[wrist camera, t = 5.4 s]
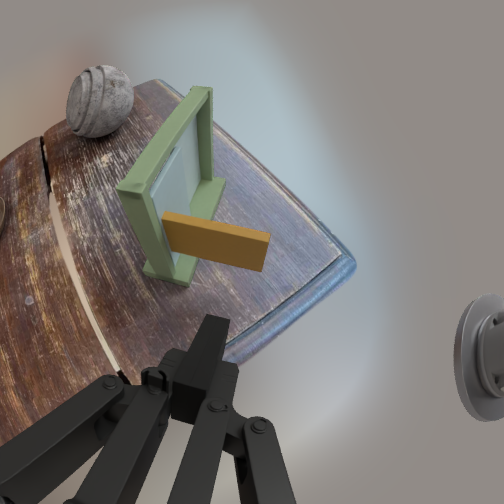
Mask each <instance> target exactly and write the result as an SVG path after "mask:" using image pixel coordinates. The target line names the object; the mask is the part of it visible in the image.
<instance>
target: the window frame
mask: <svg viewBox="0 0 504 504" xmlns="http://www.w3.org/2000/svg"><path fill="white" fill-rule="evenodd" d="M212 90H213V88H212V87H202V86H193V87H192V88H191V89H190V92H189V93H188V95H186V97H185V98H184V99H183V100H182V101H181V102H180V104H179V105H178V106H177V107H176V109H175V110H174V111H173V112H172V113H171V115H170V116H169V117H168V118H167V120H166V121H165V122H164V124H163V125H162V126H161V127H160V129H159V130H158V131H157V133H156V134H155V135H154V137H153V138H152V139H151V141H150V142H149V144H148V145H147V146H146V148H145V149H144V150H143V152H142V153H141V155H140V156H139V158H138V159H137V161H136V162H135V163H134V165H133V166H132V168H131V169H130V171H129V172H128V174H127V176H126V177H125V179H124V180H121V181H120V183H119V184H118V186H117V187H116V191H117V193H118V196H119V198H120V200H121V203H122V205H123V207H124V210H125V212H126V214H127V216H128V219H129V221H130V223H131V225H132V227H133V230H134V232H135V234H136V236H137V238H138V240H139V242H140V244H141V246H142V248H143V250H144V252H145V254H146V256H147V260H146V263H145V265H144V267H143V270H142V271H143V272H144V274H145V275H146V276H149V277H153V278H156V279H160V280H164V281H167V282H171V283H175V284H178V285H182V286H186V287H190V284H191V281H192V278H193V275H194V272H195V269H196V266H197V263H198V260H199V258H198V257H194V256H189V255H185V254H181V253H180V255H179V258H178V261H177V263H176V266H175V267H174V265H173V262H172V259H171V257H170V254H169V251H168V248H167V245H166V242H165V239H164V236H163V233H162V230H161V227H160V224H159V221H158V218H157V215H156V212H155V209H154V206H153V202H152V199H151V196H150V193H149V188H150V186H151V184H152V182H153V181H154V179H155V177H156V175H157V174H158V172H159V170H160V169H161V167H162V165H163V164H164V162H165V161H166V159H167V157H168V156H169V154H170V155H171V153H172V152H173V150H174V149H175V147H181V150H182V158H183V165H184V172H185V180H186V186H187V193H188V200H189V206H190V212H191V216H193V217H197V218H202V219H207V220H213V218H214V215H215V212H216V210H217V207H218V204H219V202H220V199H221V196H222V194H223V191H224V188H225V186H226V179H224V178H219V177H214V160H213V102H212V101H213V100H212V99H213V91H212Z"/></svg>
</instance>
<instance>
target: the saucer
mask: <svg viewBox="0 0 504 504" xmlns="http://www.w3.org/2000/svg"><path fill="white" fill-rule="evenodd" d="M4 221H5V203H4V200H3V199H2V198H1V197H0V235H1V233H2V230H3V226H4Z"/></svg>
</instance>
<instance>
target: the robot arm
mask: <svg viewBox="0 0 504 504" xmlns="http://www.w3.org/2000/svg"><path fill="white" fill-rule="evenodd" d="M229 324H230V319H226V318H222V317H218V316H214V315H210V314H206V316H205V318H204V320H203V322H202V324H201V326H200V328H199V330H198V332H197V334H196V336H195V338H194V340H193V342H192V344H191V346H190V348H189V349H188V351H187V352H185V351H182V350H179V349H175V348H173V349H171V350H169V351H168V352H166V354H165V356H164V357H163V359H162V361H161V362H160V364H159V365H158V367H148V368H146V369H144V370H143V371H141V383H142V385H126V384H124V383H123V381H122V380H121V379H120V378H119V377H117V376H115V375H104V376H101V377H100V378H98V379H97V380H95V381H94V382H93V383H91V384H90V385H88V386H87V387H86V388H84V389H83V390H81V391H80V392H79V393H77V394H76V395H74V396H73V397H71V398H70V399H69V400H67V401H66V402H64V403H63V404H62V405H60V406H59V407H57V408H56V409H54V410H53V411H52V412H50V413H49V414H47V415H46V416H45V417H43V418H42V419H40V420H39V421H37V422H36V423H34V424H33V425H32V426H30V427H29V428H27V429H26V430H24V431H23V432H21V433H20V434H19V435H17V436H16V437H14V438H13V439H11V440H10V441H8V442H7V443H5V444H4V445H3V446H1V447H0V504H38V503H39V502H40V501H41V500H42V499H44V498H45V497H46V496H47V495H48V494H50V493H51V492H52V491H53V490H54V489H55V488H57V487H58V486H59V485H60V484H61V483H62V482H63V481H65V480H66V479H67V478H68V477H69V476H70V475H71V474H73V473H74V472H75V471H76V470H77V469H78V468H79V467H81V466H82V465H83V464H84V463H85V462H86V461H87V460H88V459H89V458H91V456H93V455H94V454H95V453H96V452H97V451H98V450H99V449H100V448H102V447H103V446H104V447H103V449H102V450H101V452H100V454H99V456H98V457H97V459H96V460H95V462H94V464H93V466H92V467H91V469H90V471H89V473H88V474H87V476H86V478H85V479H84V481H83V483H82V485H81V486H80V488H79V490H78V491H77V493H76V495H75V496H74V498H72V499H68V500H66V501H65V502H64V503H63V504H135V502H136V500H137V498H138V495H139V493H140V491H141V488H142V486H143V483H144V481H145V479H146V476H147V474H148V471H149V469H150V467H151V464H152V462H153V460H154V457H155V455H156V453H157V450H158V448H159V445H160V443H161V441H162V439H163V436H164V434H165V431H166V429H167V427H168V419H169V416H170V414H171V418H172V419H175V420H178V421H181V422H185V423H188V424H192V425H194V427H193V429H192V432H191V435H190V438H189V441H188V444H187V447H186V450H185V453H184V456H183V459H182V461H181V465H180V467H179V470H178V473H177V476H176V479H175V482H174V485H173V488H172V490H171V493H170V496H169V499H168V502H167V504H210V501H211V497H212V493H213V488H214V484H215V480H216V475H217V471H218V466H219V462H220V458H221V453H222V450H223V451H225V452H227V453H229V454H231V455H233V456H234V463H235V469H236V476H237V483H238V489H239V495H240V501H241V504H296V501H295V498H294V494H293V491H292V488H291V484H290V481H289V478H288V474H287V471H286V467H285V464H284V461H283V457H282V453H281V450H280V446H279V443H278V439H277V436H276V432H275V429H274V426H273V424H272V423H271V422H270V421H269V420H268V419H265V418H263V417H258V416H257V417H251V418H249V419H247V418H245V417H243V416H241V415H239V414H238V413H237V412H236V411H235V410H234V408H233V405H232V401H233V396H234V392H235V387H236V382H237V378H238V373H239V369H238V367H237V364H235V363H230V362H226V361H222V357H223V354H224V349H225V344H226V339H227V334H228V329H229ZM476 359H477V368H478V373H479V377H480V380H481V383H482V385H483V387H484V389H485V391H486V392H487V393H488V394H489V395H490V396H491V397H493V398H502V397H504V310H499V311H496V312H495V313H493V314H491V315H489V316H488V317H487V318H486V319H485V320H484V322H483V323H482V325H481V328H480V331H479V334H478V339H477V349H476Z"/></svg>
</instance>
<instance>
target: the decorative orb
mask: <svg viewBox="0 0 504 504" xmlns="http://www.w3.org/2000/svg"><path fill="white" fill-rule="evenodd" d="M133 101H134V91H133V87H132V84H131V82H130V80H129V78H128V77H127V75H125V74H124V73H123V72H122V71H121V70H119V69H117V68H115V67H112V66H106V65H104V66H103V65H102V66H97V67H94V66H93V67H90V68H87V69H85V70H84V71H83V72H82V73H81V74H80V75H79V76H78V77H76V79H75V80H74V82H73V84H72V86H71V89H70V92H69V96H68V100H67V108H66V109H67V110H66V119H67V123H68V125H69V126H70V127H71V129H72V131H73V133H74V134H76V135H78V136H82V135H83V136H84V137H88V138H96V137H102V136H105V135H107V134H110V133H111V132H113V131H115V130H116V129H117V128H119V127H120V126H121V125H122V124H123V123H124V121H125V120H126V119H127V117H128V115H129V114H130V111H131V109H132V106H133Z"/></svg>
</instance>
